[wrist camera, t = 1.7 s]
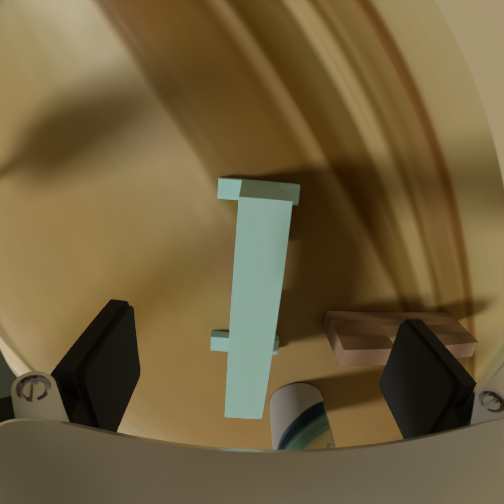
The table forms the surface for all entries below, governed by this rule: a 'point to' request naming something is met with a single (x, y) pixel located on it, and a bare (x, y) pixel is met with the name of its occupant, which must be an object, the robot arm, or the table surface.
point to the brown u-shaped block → (388, 335)
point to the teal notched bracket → (254, 289)
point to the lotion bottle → (299, 419)
